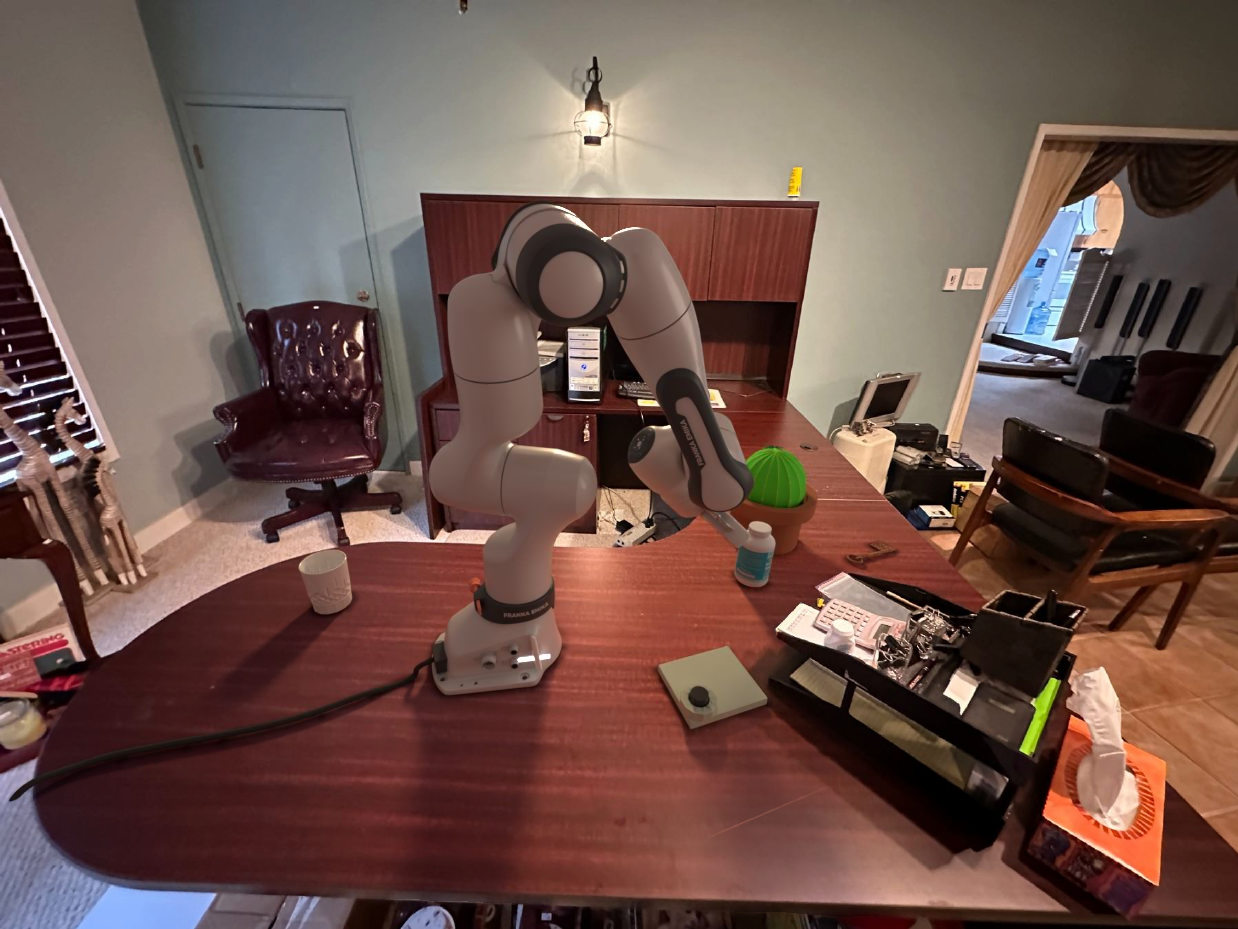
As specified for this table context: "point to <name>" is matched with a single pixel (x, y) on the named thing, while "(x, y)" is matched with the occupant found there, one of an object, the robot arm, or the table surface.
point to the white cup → (327, 580)
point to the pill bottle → (755, 556)
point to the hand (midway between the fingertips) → (727, 528)
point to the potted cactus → (777, 496)
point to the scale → (711, 685)
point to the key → (879, 546)
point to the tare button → (699, 696)
